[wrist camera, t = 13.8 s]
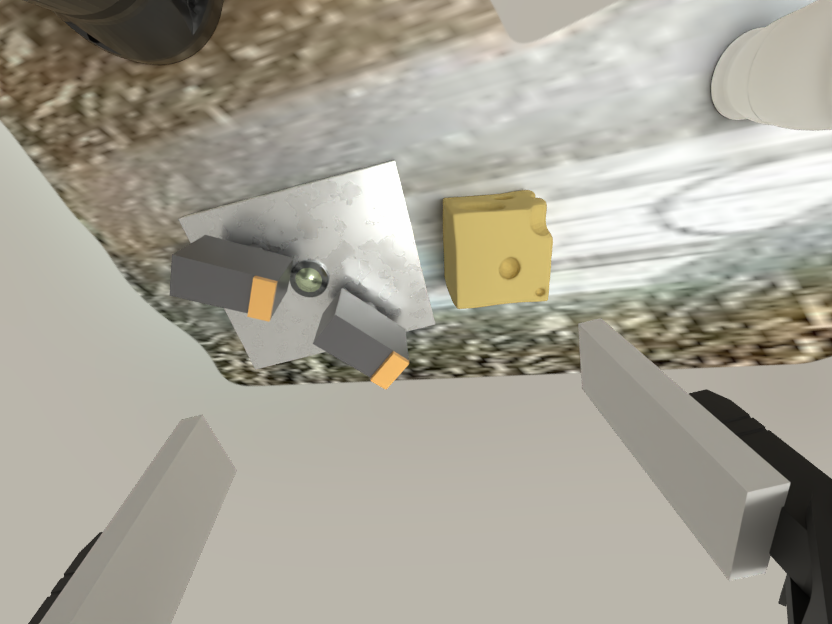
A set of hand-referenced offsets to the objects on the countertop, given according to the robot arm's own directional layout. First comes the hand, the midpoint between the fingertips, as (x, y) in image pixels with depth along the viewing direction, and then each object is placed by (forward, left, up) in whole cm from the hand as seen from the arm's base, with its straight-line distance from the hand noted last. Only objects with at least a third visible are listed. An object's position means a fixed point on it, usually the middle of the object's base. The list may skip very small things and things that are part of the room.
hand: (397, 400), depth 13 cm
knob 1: (+1, -16, -33) cm, 36 cm away
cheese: (+6, +10, -35) cm, 37 cm away
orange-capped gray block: (+11, -6, -33) cm, 35 cm away
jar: (-4, +41, -35) cm, 54 cm away
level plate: (+5, -10, -35) cm, 36 cm away
